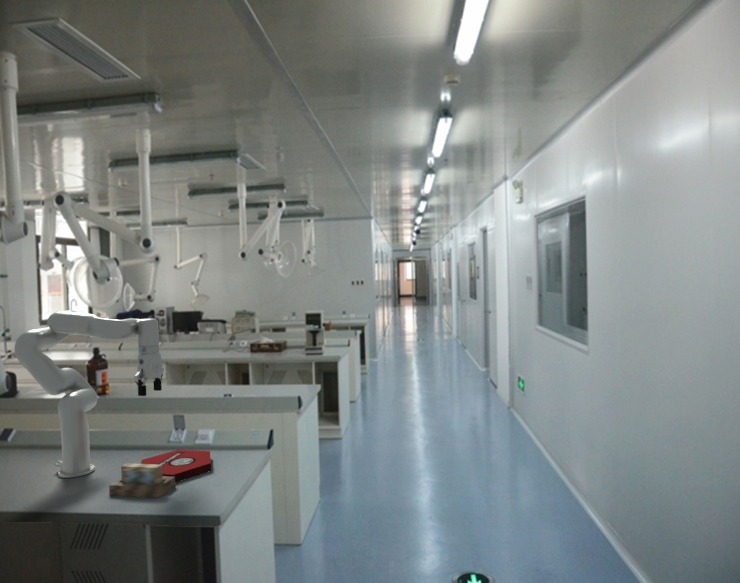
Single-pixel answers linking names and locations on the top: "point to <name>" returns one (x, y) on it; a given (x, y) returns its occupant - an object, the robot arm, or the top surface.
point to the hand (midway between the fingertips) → (150, 393)
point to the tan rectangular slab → (142, 473)
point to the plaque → (182, 463)
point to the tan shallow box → (142, 488)
